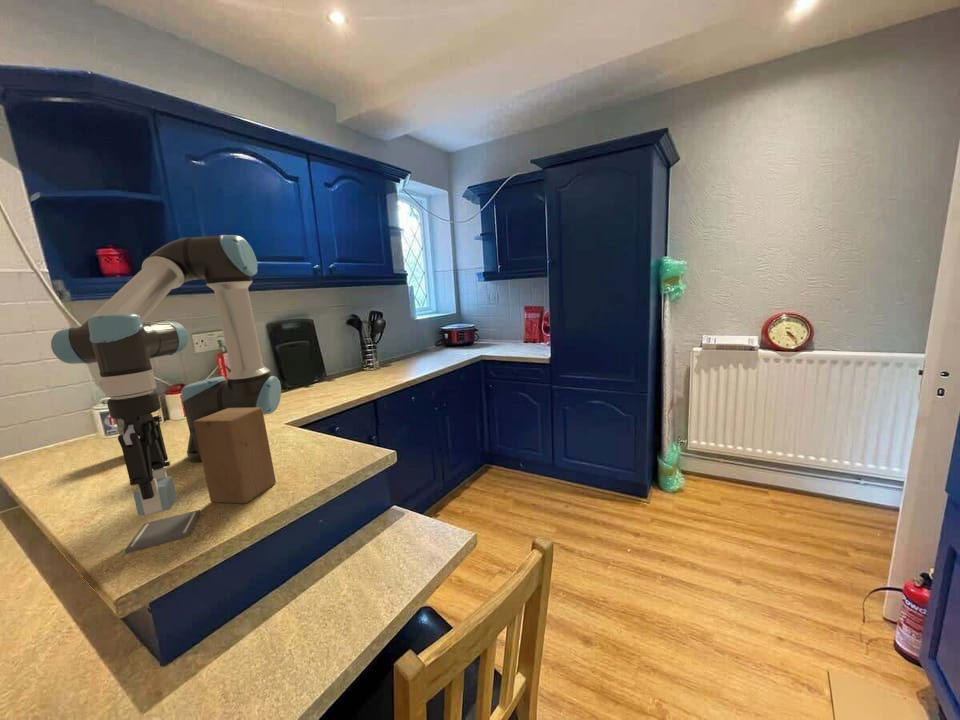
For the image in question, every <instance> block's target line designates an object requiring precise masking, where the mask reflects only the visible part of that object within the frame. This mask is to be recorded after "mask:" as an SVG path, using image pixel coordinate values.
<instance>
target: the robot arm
mask: <svg viewBox="0 0 960 720" xmlns="http://www.w3.org/2000/svg"><path fill="white" fill-rule="evenodd" d="M257 273H258V260H257V257H256V254H255V251H254V250H253V248H252V246H251V244H249V242H248V241H247V240H246V239H245V238H244V237H242V236H240V235H236V234H219V235H207V236H197V237H194V236H193V237H182V238H178V239H176V240H173V241H171V242H168V243H167V244H164V245H163V246H161V247H160V248H158V249H157V250H155V251H154V252H152V253H151V254H150V255H148V256H147V257H146V258H145V259H144V260H143V262H142V264H141V270H139V271H138V272H137V273H136V274H135V275H134V276H133V277H132V278H131V279H130V280H128V281H127V282H126V284H124V286H122V287H121V288H120V289H119V290H118V291H117V292H116V293H115V294H114V295H113V296H112V297H110V298H109V299H108V300H107V301H106V302H105V303H104V304H103V305H102V306H100V308H98V310H96V312H94V313H93V314H92V315H91V316H90V317H89V318H88V319H87V320H86V321H85V322H83V324H81V325H80V326H78V327H69V328H63V329H60V330H58V331H56V332H55V333H54V334H53V336H52V338H51V341H50V348H51V351H52V353H53V354H54V356H56V358H57V359H58V360H60V361H61V362H62V363H64V364H65V363H66V364H70V365H71V364H72V365H75V364H77V365H78V364H87V365H90V364H95V363H96V364H97V366H98V370H99V375H100V381H99V383H98V384H99V385H100V386H101V387H102V388H103V391H104V395H105V397H108V398H109V399H108V400H107V401H106V404H107V410H108V412H109V416H110V417H109V418H111V419H114V420H116V419H122V420H123V421H124V428H123V432H124V435H120V434H119V435H118V436H117V440H118V443H119V445H120V446H121V450H122V454H123V458H124V461H125V466H126V471H127V474H128V479H129V485H130V486H136V485H137V488H138V489H139V493H140V497H141V501H142V505H143V509H144V513H145V515H144V516H146V514H148V515H151V514H150V513H152V514H155V513H154V512H156V513H159V512H158V511H161V512H163V511H162V510H163V507H162V502H161V498H160V494H159V490H158V485H157V481H156V480H157V479H162V478H167V477H168V474H167V470H166V467H170V465H171V461H168V454H167V449H166V445H165V441H164V437H163V434H162V429H161V428H162V427H161V420H160V416H159V415H156V416H153V414H152V413H155V412H157V411H159V410H161V407H162V405H161V401H160V397H159V392H157V391H155V390H156V389H157V382H156V379H155V374H154V370H153V366H152V361H151V359H154V358H160V357H164V356H173V355H174V354H177V353H180V352H182V351H184V349H185V348H186V347H187V346H188V343H189V339H190V338H189V333H188V331H187V330H186V328H185V327H184V326H183V324H182V323H179V322H178V321H174V320H166V319H162V320H156V321H155V320H154V321H145V320H146V319H147V317H149V316H150V314H151V313H152V312H153V311H154V310H155V309H156V307H157V306H159V304H161V302H162V301H163V299H165V297H166V296H167V295H168V294H169V293H170V292H171V290H175V289H177V288H180V287H182V285H183V284H184V283H186V282H190V281H195V280H205V284H206V286H207V287H208V288H210V289H211V290H213V292H214V296H215V301H216V306H217V311H218V315H219V319H220V324H221V329H222V334H223V338H224V343H225V347H226V352H227V357H228V361H229V365H230V373H228V375H227V376H224V375H223V376H215V377H211V378H207V379H206V378H205V379H203V380H199V381H196V382H195V381H194V382H192V383H189V384H187V385H185V386H183V387H182V388H181V390H180V391H181V392H180V393H181V394H180V395H181V403H182V406H183V409H184V414H185V418H186V423H187V427H188V431H189V437H188V444H187V449H186V455H187V456H186V457H187V460H188V461H189V462H194V463H200V462H201V463H202V460H201V455H200V451H199V446H198V442H197V437H196V433H195V428H194V424H193V422H194V421H195V420H198V419H200V418H203V417H206V416H208V415H211V414H214V413H216V412H219V411H222V410H224V409H227V408H252V407H261V408H262V410H263V415H264V416H265V415H271V414H273V413H274V412H275V411H276V410H277V409H278V407H279V404H280V402H281V397H282V386H281V381H280V380H279V378H278V377H277V376H275V375H272V374H271V370H270V368H268V367H266V366H265V365H264V362H263V358H262V357H263V356H262V352H261V348H260V342H259V337H258V331H257V328H256V322H255V317H254V312H253V308H252V302H251V297H250V296H251V295H250V293H249V292H250V291H249V287H250V286H251V285H252V283H253V278H252V276H255V275H257Z"/></svg>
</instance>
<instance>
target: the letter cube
mask: <svg viewBox="0 0 960 720" xmlns="http://www.w3.org/2000/svg"><path fill="white" fill-rule="evenodd" d="M156 481H157V485H158V490H159V494H160V498H161V502H162V507H163V510H162V511H158V512H154V513H150V514H146V515H151V514H155V513H160V512H165V511H169V510H171V509H172V507H173V505H174V504H175V503H176V501H177V500H178V495H177V490H176V485H175V482H174V481H175V480H174V477H173V476H167V478H162V479H157V480H156ZM132 495H133V499H134V503H135V506H136V511H137V516H138V517H143V516H146V515H145V513H144V509H143V505H142V501H141V497H140V493H139V489H138V487H137V488H136V489H135V490H133V492H132Z"/></svg>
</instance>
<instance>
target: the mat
mask: <svg viewBox="0 0 960 720" xmlns="http://www.w3.org/2000/svg"><path fill="white" fill-rule="evenodd" d="M201 513H202V511H201V509H197V510H194V511H189V512H185V513H182V514H177V515H173V516H168V517H164V518H161V519H157V520H152V521H147V522H144V523H143V524H142V526H141V527H140V529H139V530H138V531H137V533H136V534H135V536H134V537H133V538H132V539H131V541H130V542H129V544H128V545H127V546H126V547H125V549H124V552H125V554H127V553H131V552H135V551H138V550H141V549H142V550H143V549H146V548H149V547H153V546H158V545H162V544H165V543H168V542H172V541H175V540H180V539H182V538H187V537H189V536H190V534H191V533H192V530H193V529H194V527H195V525H196V522H197V520H198V519H199V517H200V514H201Z"/></svg>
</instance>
